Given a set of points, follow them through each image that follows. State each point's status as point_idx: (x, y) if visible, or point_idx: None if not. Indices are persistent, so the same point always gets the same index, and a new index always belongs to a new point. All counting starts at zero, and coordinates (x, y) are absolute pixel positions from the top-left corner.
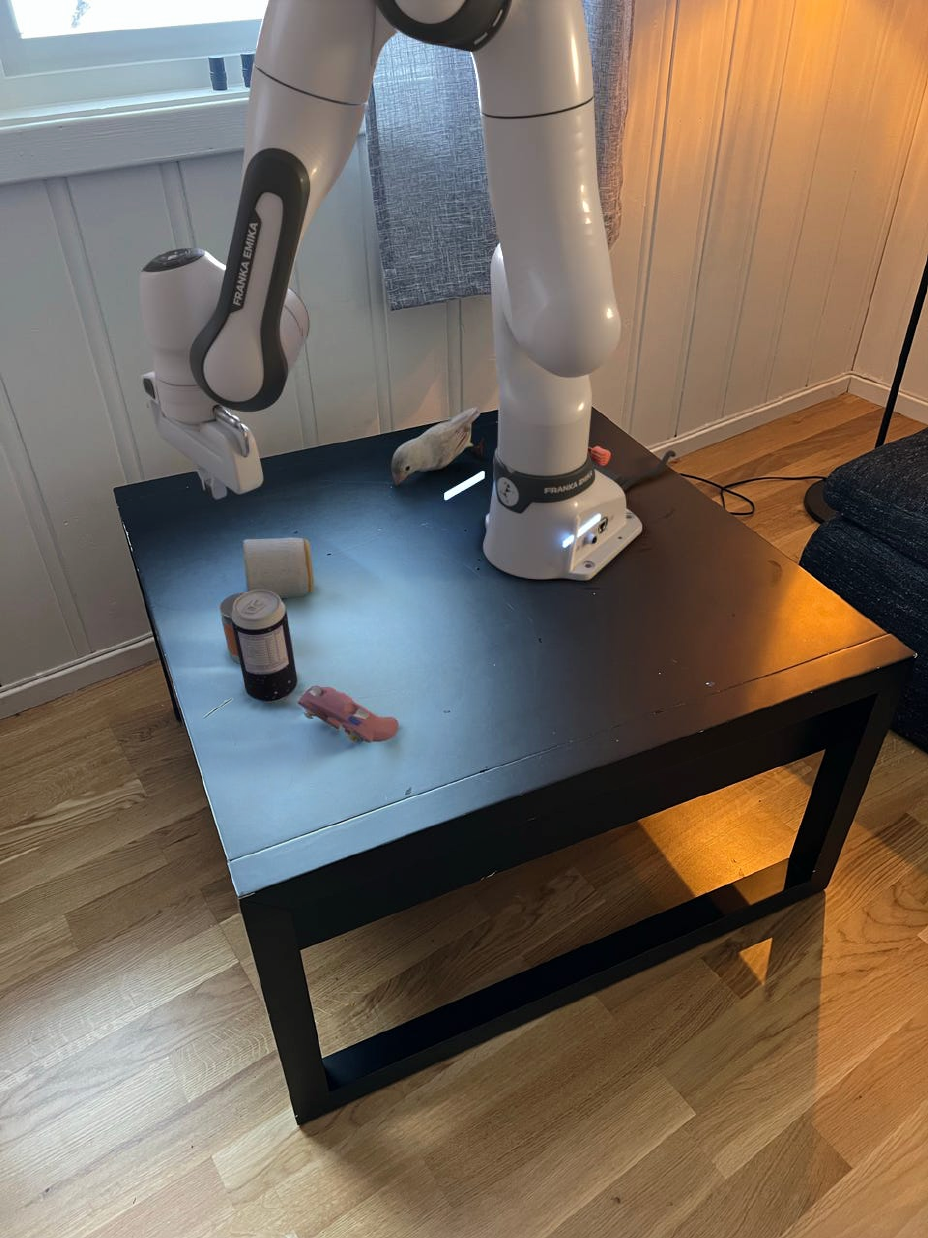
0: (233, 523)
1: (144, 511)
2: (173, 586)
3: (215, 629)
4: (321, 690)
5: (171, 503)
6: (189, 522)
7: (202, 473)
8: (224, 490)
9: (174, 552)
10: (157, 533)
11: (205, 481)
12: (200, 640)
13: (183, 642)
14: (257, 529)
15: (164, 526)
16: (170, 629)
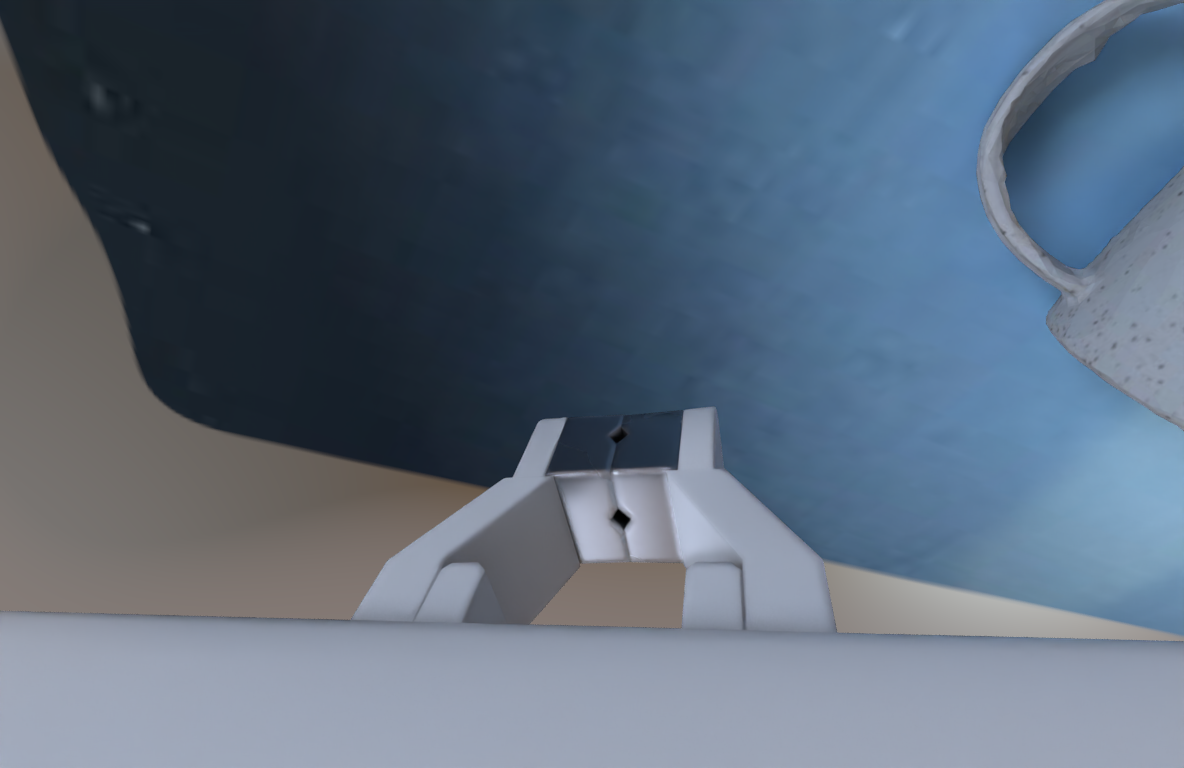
0: (495, 161)
1: (291, 413)
2: (796, 508)
3: (1175, 512)
4: None
5: (257, 324)
6: (414, 320)
7: (535, 598)
8: (718, 445)
9: None
10: (446, 431)
11: (590, 558)
12: (1177, 564)
13: (1126, 598)
14: (607, 66)
15: (409, 399)
16: (1019, 595)
